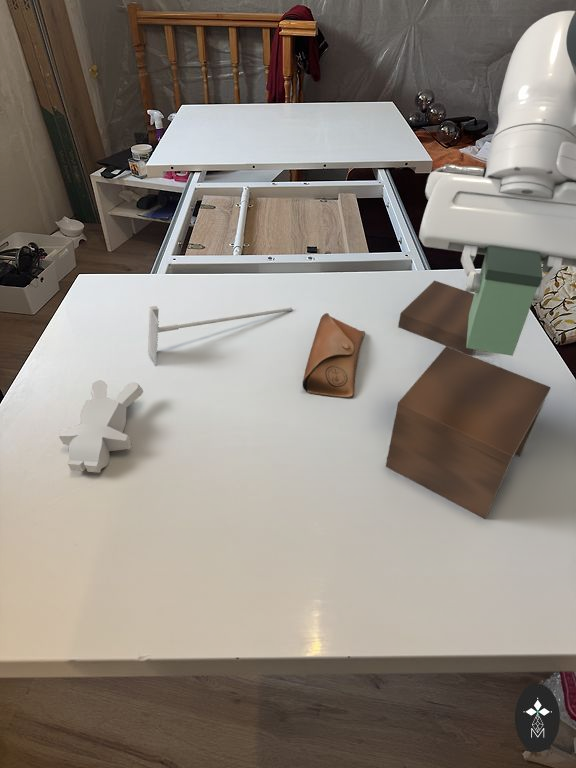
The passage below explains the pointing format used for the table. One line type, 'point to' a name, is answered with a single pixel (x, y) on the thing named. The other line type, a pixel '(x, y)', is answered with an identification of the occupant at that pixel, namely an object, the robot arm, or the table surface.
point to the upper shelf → (463, 428)
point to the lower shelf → (440, 315)
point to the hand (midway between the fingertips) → (503, 295)
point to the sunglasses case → (333, 359)
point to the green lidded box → (503, 299)
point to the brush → (155, 329)
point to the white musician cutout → (99, 428)
